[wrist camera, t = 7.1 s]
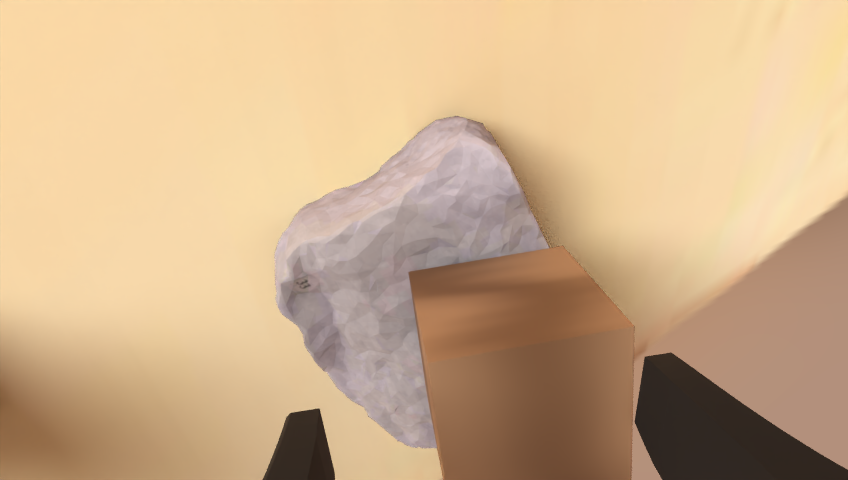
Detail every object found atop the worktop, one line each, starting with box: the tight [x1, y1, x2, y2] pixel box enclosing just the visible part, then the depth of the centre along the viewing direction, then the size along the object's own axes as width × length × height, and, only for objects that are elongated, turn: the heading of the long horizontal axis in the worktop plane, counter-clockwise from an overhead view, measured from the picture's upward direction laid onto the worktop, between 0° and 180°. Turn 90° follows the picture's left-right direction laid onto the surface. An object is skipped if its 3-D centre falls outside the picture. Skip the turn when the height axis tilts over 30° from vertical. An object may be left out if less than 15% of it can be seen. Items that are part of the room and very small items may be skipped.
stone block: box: [275, 116, 549, 448], centre depth 22 cm, size 12×5×10 cm
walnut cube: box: [408, 246, 634, 480], centre depth 17 cm, size 5×5×5 cm
